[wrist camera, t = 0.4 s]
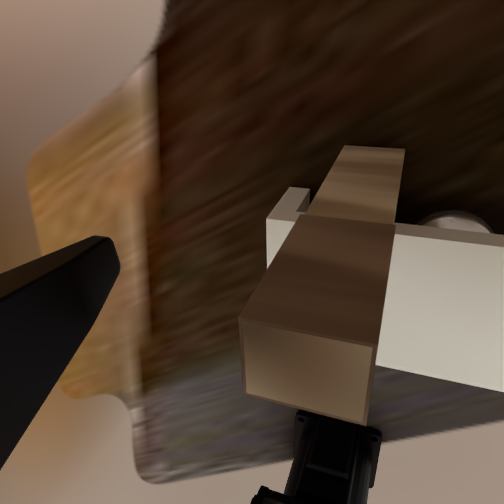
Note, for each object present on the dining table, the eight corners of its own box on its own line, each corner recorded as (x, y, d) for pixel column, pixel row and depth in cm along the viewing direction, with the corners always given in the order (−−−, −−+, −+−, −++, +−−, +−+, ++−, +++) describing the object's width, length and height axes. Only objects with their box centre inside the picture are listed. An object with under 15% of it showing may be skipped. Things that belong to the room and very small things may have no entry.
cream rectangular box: (526, 341, 25) (542, 400, 21) (288, 299, 29) (268, 342, 25) (573, 213, 21) (603, 259, 17) (289, 186, 25) (266, 218, 21)
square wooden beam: (484, 316, 24) (538, 634, 12) (332, 290, 27) (252, 531, 15) (532, 154, 20) (695, 407, 8) (342, 143, 22) (238, 317, 10)
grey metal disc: (484, 284, 24) (487, 298, 23) (401, 272, 25) (400, 285, 24) (504, 212, 22) (508, 224, 21) (413, 203, 23) (412, 214, 22)
